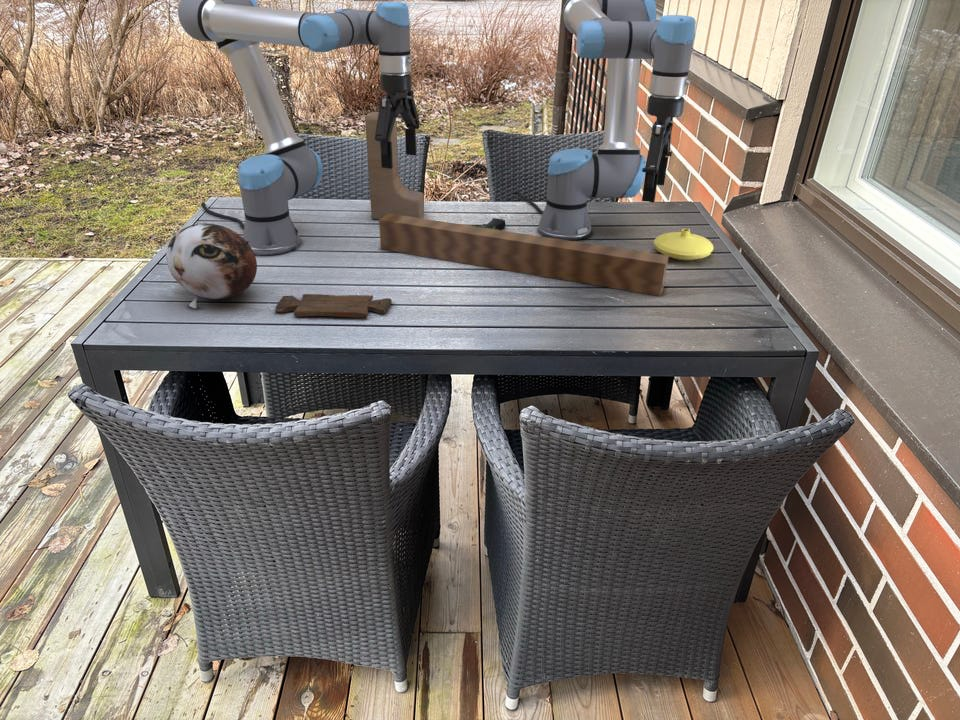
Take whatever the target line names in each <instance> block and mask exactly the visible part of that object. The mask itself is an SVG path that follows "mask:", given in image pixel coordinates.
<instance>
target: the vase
mask: <svg viewBox="0 0 960 720" xmlns="http://www.w3.org/2000/svg"><path fill="white" fill-rule="evenodd" d="M653 245H654V248H655V250H656V251H658V252H659V253H660V254H662V255H668V256H669V258H671V259H675V260H679V261H696V260H700V259H703V258H707V257H709V256H710V255H711V254H712V253H713V250H714V249H715V248H714V244H713V243H712V242H711V241H710V240H709V239H708V238H707V237H704V236H702V235H700V234H699V235H698V234H695V233H691V229H689V228H681V230H680V231H672V232H671V231H670V232H665V233H661V234H659V235H658V236H657V237H656V238H655V239H654V240H653Z"/></svg>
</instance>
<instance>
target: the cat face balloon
mask: <svg viewBox="0 0 960 720" xmlns="http://www.w3.org/2000/svg"><path fill="white" fill-rule="evenodd" d="M248 242H249V241H246V240H245V239H244V238H243V236H242V235H240V234H239V233H238V232H236V231H234V230H233V229H231V228H229V227H226V226H223V225H220V224H215V223H205V222H204V223H195V224H191V225H188V226H186V227H183V228H182V229H180V230H179V231H177V232H176V233H175V234H174V235H173V237H171V239H170V241H169V243H168V245H167V248H166V254H165V260H166V265H167V268H168V271H169V273H170V275H171V276H172V277H173V279H174V280H175V281H176V282H177V284H178V285H180V286H181V287H182V288H183V289H185V290H186V291H187V292H189V293H191V294H194V295H195V298H194V299H193V300H192V302H190V303H189V304H188V306H189V307H191V308H192V309H197V308H198V307H197V298H198V297H201V298H205V299H210V300H226V299H230V298H233V297H236V296H238V295H241V294H242V293H244V292H245V291H247V290H248V289H249V288H250V286H251V285H252V284H253V282H254V280H255V278H256V275H257V271H258V262H257V257H256V254H254V252H253V250H252V248H251V247H250V245H249V244H248Z"/></svg>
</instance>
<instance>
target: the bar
mask: <svg viewBox="0 0 960 720" xmlns="http://www.w3.org/2000/svg"><path fill="white" fill-rule="evenodd" d="M378 225H379V239H380V241H379V242H380V250H384V251H389V252H395V253H402V254H408V255H413V256H419V257H424V258H431V259H436V260H443V261H448V262H455V263H460V264H466V265H472V266H479V267H484V268H489V269H490V268H491V269H497V270H503V271H508V272H514V273H519V274H520V273H522V274H526V275H533V276H538V277H544V278H551V279H554V280H555V279H556V280H561V281H566V282H567V281H569V282H574V283H580V284H586V285H591V286H599V287H603V288H609V289H616V290H622V291H627V292H632V293H633V292H634V293H639V294H644V295H651V296H658V297H661V295H662V292H663V290H664V288H665V282H666V275H667V270H668V263H669V258H670V257H669V256H668V255H664V254H662V253H654V252H648V251H641V250H634V249H629V248H628V249H627V248H622V247H613V246H608V245H601V244H595V243H587V242H583V241H582V242H580V241H568V240H562V239H555V238H549V237H544V236H543V235H534V234H528V233H522V232H514V231H508V230H495V229H489V228H482V227H475V226H472V225H469V224H468V225H467V224H461V223H455V222H448V221H443V220H442V221H441V220H435V219H428V218H416V217H409V216H402V215H396V214H387V215H386V216H384V217H383V218H381V219H378Z"/></svg>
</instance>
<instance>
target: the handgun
mask: <svg viewBox="0 0 960 720" xmlns="http://www.w3.org/2000/svg"><path fill="white" fill-rule="evenodd" d="M471 226H475V227H482V228H489V229H495V230H502V231H504V229H505V228H506V220H505V219H503V218H497V217H492V219H491V220H490V221H489V222H488V223H483V224H482V225H479V224H472V225H471Z"/></svg>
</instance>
